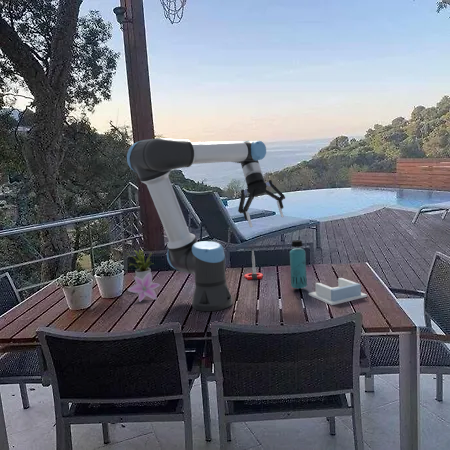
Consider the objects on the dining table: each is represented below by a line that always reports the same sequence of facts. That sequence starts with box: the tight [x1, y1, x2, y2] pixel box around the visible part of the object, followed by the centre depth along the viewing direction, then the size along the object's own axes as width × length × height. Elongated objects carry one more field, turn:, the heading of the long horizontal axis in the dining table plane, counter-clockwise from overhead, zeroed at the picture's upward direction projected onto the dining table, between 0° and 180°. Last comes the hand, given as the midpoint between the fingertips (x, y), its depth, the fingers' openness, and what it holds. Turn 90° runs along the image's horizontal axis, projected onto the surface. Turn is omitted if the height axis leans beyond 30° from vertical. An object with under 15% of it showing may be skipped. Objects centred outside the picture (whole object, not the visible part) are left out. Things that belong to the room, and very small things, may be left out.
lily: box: [127, 272, 161, 302], centre depth 177 cm, size 12×12×10 cm
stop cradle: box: [308, 277, 368, 306], centre depth 162 cm, size 16×14×5 cm
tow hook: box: [244, 250, 264, 281], centre depth 196 cm, size 8×13×9 cm
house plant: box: [127, 249, 155, 279], centre depth 200 cm, size 14×14×16 cm
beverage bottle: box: [289, 239, 308, 289], centre depth 172 cm, size 6×7×20 cm
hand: (266, 221), depth 179 cm, fingers open, 13 cm apart
